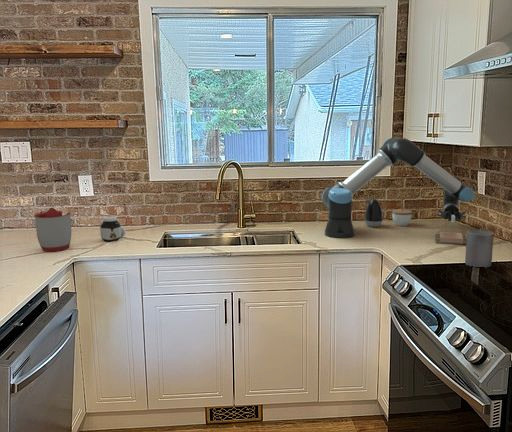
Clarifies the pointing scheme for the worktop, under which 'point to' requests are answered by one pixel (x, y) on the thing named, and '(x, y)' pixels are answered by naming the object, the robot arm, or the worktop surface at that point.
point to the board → (437, 239)
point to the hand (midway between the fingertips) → (453, 220)
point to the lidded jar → (401, 217)
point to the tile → (451, 237)
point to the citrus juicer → (53, 230)
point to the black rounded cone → (373, 213)
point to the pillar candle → (479, 248)
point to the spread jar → (111, 229)
